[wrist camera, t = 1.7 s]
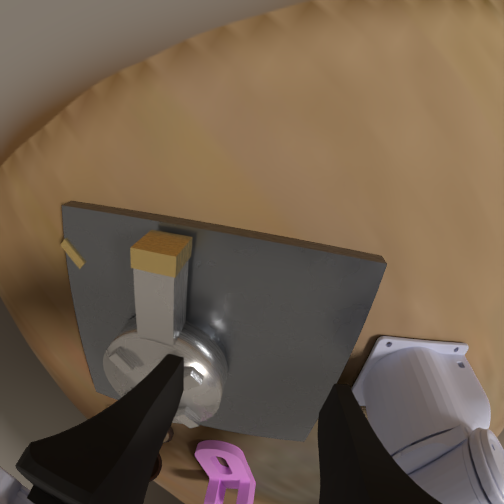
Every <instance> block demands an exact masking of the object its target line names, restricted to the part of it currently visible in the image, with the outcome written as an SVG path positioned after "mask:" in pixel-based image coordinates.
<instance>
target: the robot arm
mask: <svg viewBox="0 0 504 504" xmlns="http://www.w3.org/2000/svg"><path fill="white" fill-rule="evenodd" d="M388 342H390V343H389V344H387V343H388ZM467 350H468V345H467V344H466V343H455V342H441V341H429V340H418V339H408V338H399V337H389V336H381V337H379V338H378V339H377V341H376V343H375V345H374V347H373V349H372V351H371V353H370V355H369V357H368V359H367V361H366V363H365V365H364V366H363V368H362V370H361V372H360V374H359V376H358V378H357V380H356V381H355V383H354V385H353V387H352V389H351V388H350V386H349V385H345V384H334V385H333V387H332V389H331V391H330V393H329V395H328V397H327V399H326V401H325V402H324V404H323V406H322V408H321V410H320V412H319V419H318V448H319V463H320V499H319V504H504V450H503V448H502V446H501V444H500V442H499V440H498V439H497V437H496V436H495V435H494V433H493V432H492V431H491V430H489V429H488V428H489V425H490V417H491V411H490V404H489V401H488V398H487V396H486V394H485V392H484V390H483V388H482V386H481V384H480V382H479V381H478V379H477V377H476V375H475V373H474V371H473V370H472V368H471V366H470V364H469V363H468V361H467V359H466V357H465V356H464V355H465V354H466V352H467ZM183 390H184V357H180V356H176V355H173V354H167V355H166V356H165V357H164V358H163V359H162V361H161V362H160V363H159V364H158V365H157V366H156V367H155V368H154V369H153V370H152V371H151V372H150V373H149V374H148V375H147V376H146V377H145V378H144V379H143V380H142V381H140V382H139V383H138V384H137V385H136V386H135V387H134V388H133V389H131V390H130V391H129V392H128V393H127V394H125V395H124V396H123V397H122V398H120V399H119V400H118V401H116V402H115V403H114V404H112V405H111V406H109V407H108V408H107V409H105V410H103V411H102V412H100V413H99V414H97V415H95V416H94V417H92V418H90V419H88V420H87V421H85V422H83V423H81V424H79V425H77V426H75V427H73V428H70V429H69V430H66V431H64V432H61V433H59V434H56V435H54V436H51V437H47V438H44V439H41V440H38V441H34V442H31V443H30V444H29V446H28V447H27V448H26V449H25V451H24V452H23V454H22V456H21V457H20V459H19V460H18V462H17V464H16V468H17V470H18V471H19V472H20V473H21V474H22V475H23V476H24V477H25V478H26V479H28V480H29V481H30V482H31V483H32V484H33V487H32V489H31V491H30V490H29V489H27V488H26V487H24V486H23V485H22V484H21V483H20V482H19V481H18V480H17V479H15V478H14V477H13V476H12V475H11V474H9V473H8V472H6V471H5V470H4V469H3V468H1V467H0V504H143V502H144V498H145V495H146V491H147V487H148V484H149V480H150V477H151V474H152V470H153V467H154V464H155V461H156V458H157V455H158V453H159V450H160V448H161V446H162V444H163V442H164V439H165V437H166V435H167V433H168V430H169V428H170V426H171V424H172V421H173V419H174V417H175V415H176V412H177V410H178V407H179V404H180V400H181V397H182V394H183ZM360 406H366V411H367V416H368V420H367V418H366V417H365V415H364V413H363V411H362V409H361V407H360Z"/></svg>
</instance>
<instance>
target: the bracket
mask: <svg viewBox="0 0 504 504" xmlns="http://www.w3.org/2000/svg"><path fill="white" fill-rule="evenodd" d="M216 456H218V457H222V458H224V459H225V460H226V461H227V463H228V465H229V467H225V466H222V465H221V464H220V463H219V461H218V460H217V458H216ZM195 457H196V459H197V460H198V462H199V463H200V464H201V466H202V467H203V469H204V470H205V472H206V473H207V475H208V476H209V484H208V488H207V492H206V496H205V501H204V504H223V500H224V495H225V490H226V488H232V489H239V490H238V496H237V502H236V504H253V500H254V492H255V485H256V482H255V480H254V477H253V475H252V473H251V471H250V468H249V466H248V463H247V461H246V459H245V456H244V454H243V452H242V450H241V449H240V448H238V447H237V446H235V445H232V444H230V443H227V442H223V441H217V440H206V441H202V442H200V443H198V445H197V448H196V452H195Z"/></svg>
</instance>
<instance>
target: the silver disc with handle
mask: <svg viewBox="0 0 504 504" xmlns="http://www.w3.org/2000/svg"><path fill="white" fill-rule="evenodd" d="M191 250H192V237H189V236H184V235H178V234H173V233H167V232H162V231H156V230H151V231H149V232H148V233H147V234H146V235H145V236H143V237H142V238H141V239H140V240H139V241H137V242H136V243H135V244H134V245H133V246H131V247H130V255H131V268H133V273H134V294H135V309H136V317H134V318H132V319H130V320H129V321H128V322H127V323H126V324H125V325H124V327H123V328H122V329H121V331H120V332H119V333H118V335H117V336H116V337H115V339H114V340H113V342H112V343H111V344H110V346H109V347H108V348H107V350H106V352H105V354H104V357H103V367H104V371H105V374H106V377H107V379H108V381H109V382H110V384H111V385H112V387H113V388H114V389H115V391H116V392H117V393H118V394H119V395H120V396H121V398H122V397H123V396H124V395H125V394H127V393H128V392H129V391H130V390H131V389H133V388H134V387H135V386H136V385H137V384H138V383H139V382H140V381H142V380H143V379H144V378H145V377H146V376H147V375H148V374H149V373H150V372H151V371H152V370H153V369H154V368H155V367H156V366H157V365H158V364H159V363H160V362H161V361H162V359H163V358H164V357H165V356H166V355H167V354H173V355H176V356H180V357H184V390H183V394H182V397H181V400H180V404H179V407H178V410H177V412H176V415H175V417H174V419H173V421H172V422H173V423H180V424H185V425H186V426H187V427H189V428H193V427H197V426H199V424H200V422H202V421H205V420H207V419H209V418H211V417H212V416H213V415H214V414H215V413H216V412H217V410H218V409H219V406H220V402H221V398H222V394H223V390H224V386H225V382H226V378H227V374H228V366H227V361H226V358H225V356H224V354H223V352H222V350H221V349H220V347H219V346H218V344H217V343H216V342H215V341H214V340H213V339H212V338H211V337H210V336H209V335H208V334H207V333H205V332H204V331H203V330H201V329H200V328H198V327H197V326H195V325H194V324H192V323H190V322H188V321H186V299H187V280H188V263H189V258H190V257H191Z"/></svg>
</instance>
